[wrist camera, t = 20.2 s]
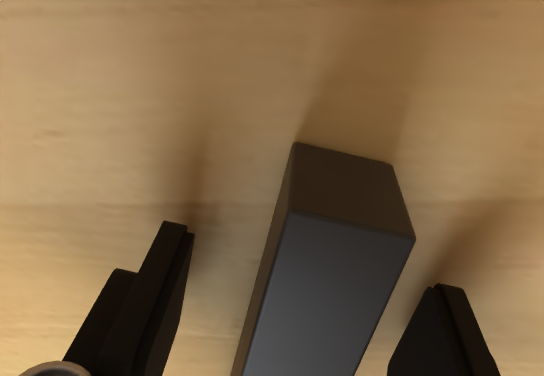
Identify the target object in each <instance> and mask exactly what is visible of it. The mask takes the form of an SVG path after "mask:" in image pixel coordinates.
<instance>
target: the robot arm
mask: <svg viewBox="0 0 544 376" xmlns="http://www.w3.org/2000/svg"><path fill="white" fill-rule="evenodd" d="M187 229H188V226H187V225H182V224H178V223H173V222H169V221H164V222H163V223H162V225H161V227H160V229H159V231H158V233H157V235H156V237H155V239H154V241H153V243H152V245H151V247H150V249H149V251H148V254H147V256H146V258H145V260H144V262H143V264H142V266H141V268H140V270H139V272H138V273H136V272H132V271H127V270H123V269H118V268H116V269H115V270H114V271H113V272H112V274H111V275H110V277H109V279H108V280H107V282H106V284H105V286H104V288H103V289H102V291H101V293H100V295H99V296H98V298H97V300H96V302H95V303H94V305H93V307H92V309H91V310H90V312H89V314H88V316H87V317H86V319H85V321H84V323H83V324H82V326H81V328H80V330H79V332H78V333H77V335H76V337H75V339H74V340H73V342H72V344H71V346H70V347H69V349H68V351H67V353H66V354H65V356H64V358H63V360H62V361H52V362H46V363H41V364H39V365H37V366H34V367H32V368H29V369H28V370H26V371H25V372H23V373H22V374H21V375H19V376H162V374H163V371H164V368H165V365H166V362H167V359H168V356H169V353H170V350H171V347H172V344H173V341H174V338H175V335H176V332H177V328H178V325H179V321H180V316H181V311H182V305H183V300H184V294H185V289H186V283H187V277H188V272H189V266H190V261H191V255H192V249H193V244H194V238H195V234H194V233H189V232H187ZM387 376H501V375H500V373H499V370H498V368H497V365H496V363H495V361H494V359H493V357H492V355H491V354H490V352H489V350H488V347H487V345H486V342H485V340H484V337H483V335H482V333H481V330H480V328H479V325H478V323H477V320H476V318H475V316H474V313H473V311H472V308H471V306H470V303H469V301H468V299H467V296H466V294H465V292H464V290H463V289H462V288H459V287H454V286H450V285H446V284H441V283H437V284H436V285H434V287H433V288H432V287H428V288H427V289H426V290H425V292H424V294H423V296H422V298H421V300H420V302H419V304H418V306H417V308H416V310H415V312H414V314H413V316H412V318H411V320H410V322H409V324H408V325H407V327H406V329H405V331H404V333H403V335H402V337H401V339H400V341H399V343H398V345H397V347H396V349H395V351H394V353H393V355H392V357H391V359H390V361H389V364H388V369H387Z"/></svg>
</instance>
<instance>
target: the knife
mask: <svg viewBox="0 0 544 376" xmlns="http://www.w3.org/2000/svg"><path fill="white" fill-rule="evenodd" d="M415 242H416V236H415V233H414V230H413V227H412V224H411V221H410V217H409V214H408V211H407V208H406V205H405V202H404V199H403V196H402V193H401V190H400V187H399V184H398V181H397V178H396V175H395V172H394V169H393V166H392V165H390V164H386V163H382V162H378V161H373V160H369V159H365V158H361V157H357V156H352V155H348V154H344V153H340V152H335V151H331V150H327V149H323V148H318V147H314V146H310V145H306V144H302V143H297V142H296V143H294V144H293V145H292V148H291V152H290V155H289V159H288V163H287V167H286V170H285V174H284V178H283V181H282V185H281V189H280V193H279V196H278V200H277V204H276V208H275V211H274V215H273V219H272V222H271V226H270V230H269V234H268V237H267V241H266V245H265V248H264V252H263V256H262V260H261V263H260V267H259V271H258V275H257V278H256V282H255V286H254V289H253V293H252V297H251V301H250V304H249V308H248V312H247V316H246V319H245V323H244V327H243V330H242V334H241V338H240V342H239V345H238V349H237V353H236V357H235V360H234V364H233V368H232V371H231V375H230V376H354V375H355V373H356V370H357V368H358V366H359V364H360V362H361V360H362V357H363V355H364V353H365V351H366V349H367V346H368V344H369V342H370V340H371V338H372V336H373V333H374V331H375V329H376V327H377V325H378V322H379V320H380V318H381V316H382V314H383V312H384V309H385V307H386V305H387V303H388V301H389V298H390V296H391V294H392V292H393V290H394V288H395V285H396V283H397V281H398V279H399V277H400V274H401V272H402V270H403V268H404V266H405V264H406V261H407V259H408V257H409V255H410V253H411V250H412V248H413V246H414V244H415Z"/></svg>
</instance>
